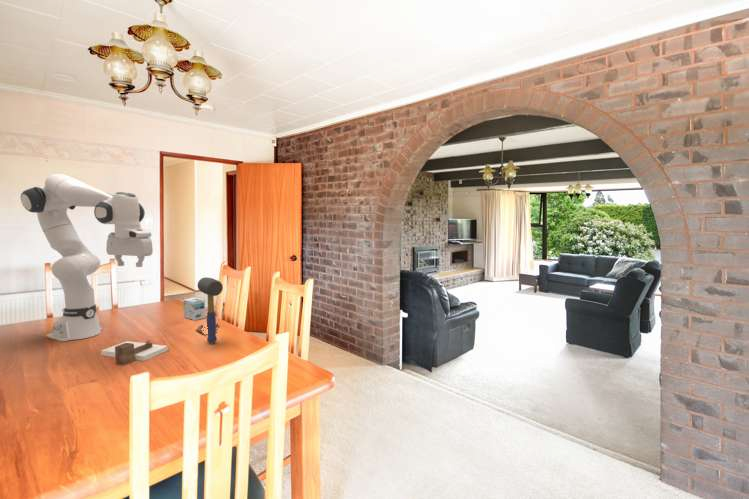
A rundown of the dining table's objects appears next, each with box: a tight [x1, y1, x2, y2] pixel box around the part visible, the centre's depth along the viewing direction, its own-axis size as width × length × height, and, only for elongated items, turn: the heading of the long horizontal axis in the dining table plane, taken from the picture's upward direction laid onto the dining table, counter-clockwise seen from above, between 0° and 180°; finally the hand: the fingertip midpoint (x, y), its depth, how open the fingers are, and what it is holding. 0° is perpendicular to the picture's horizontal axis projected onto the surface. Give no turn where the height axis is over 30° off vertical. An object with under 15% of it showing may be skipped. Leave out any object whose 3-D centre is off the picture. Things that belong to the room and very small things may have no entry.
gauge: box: [114, 339, 153, 366], centre depth 152 cm, size 4×14×7 cm, turn 165°
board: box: [100, 340, 169, 362], centre depth 158 cm, size 22×12×2 cm, turn 75°
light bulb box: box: [183, 297, 207, 321], centre depth 210 cm, size 11×7×11 cm, turn 58°
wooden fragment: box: [195, 323, 220, 337], centre depth 192 cm, size 26×11×1 cm, turn 21°
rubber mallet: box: [197, 276, 224, 345], centre depth 168 cm, size 12×8×30 cm, turn 46°
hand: (130, 266), depth 153 cm, fingers open, 8 cm apart
